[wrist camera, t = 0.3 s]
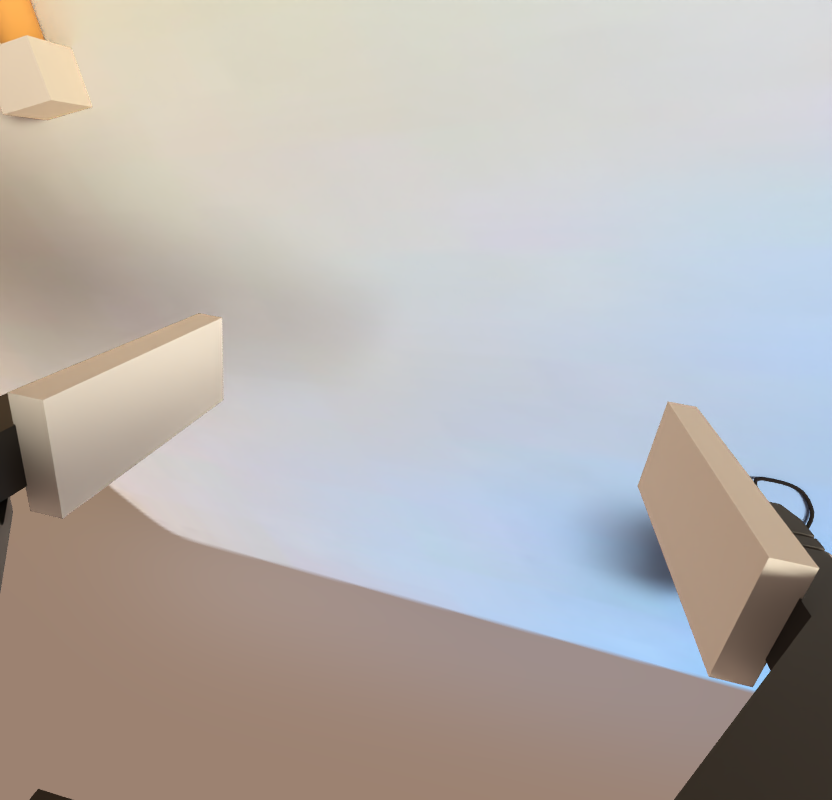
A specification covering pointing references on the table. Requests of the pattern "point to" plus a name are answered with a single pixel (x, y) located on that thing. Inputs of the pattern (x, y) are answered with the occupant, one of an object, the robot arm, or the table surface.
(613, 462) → the table surface
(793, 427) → the table surface
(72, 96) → the orange rod with blocks
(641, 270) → the table surface
